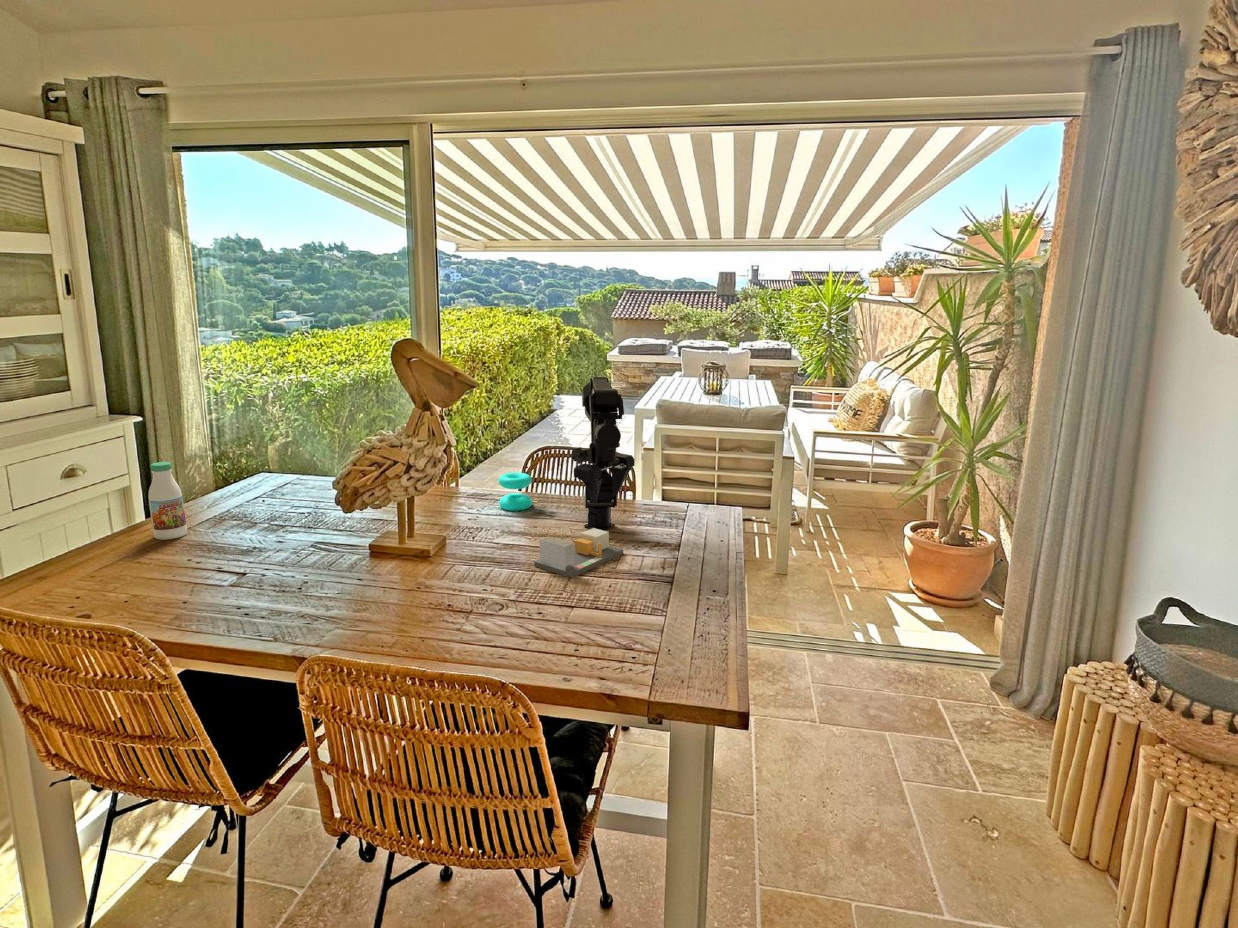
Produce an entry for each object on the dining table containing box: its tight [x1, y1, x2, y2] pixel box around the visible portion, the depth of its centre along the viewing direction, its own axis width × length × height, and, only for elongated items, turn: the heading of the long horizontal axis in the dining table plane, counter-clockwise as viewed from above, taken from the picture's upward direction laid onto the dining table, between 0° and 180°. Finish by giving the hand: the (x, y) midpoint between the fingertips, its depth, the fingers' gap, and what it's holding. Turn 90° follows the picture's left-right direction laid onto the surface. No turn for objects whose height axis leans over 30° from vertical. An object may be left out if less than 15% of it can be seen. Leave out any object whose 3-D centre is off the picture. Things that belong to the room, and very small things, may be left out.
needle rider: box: [574, 537, 602, 557], centre depth 180 cm, size 2×8×4 cm, turn 53°
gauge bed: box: [533, 536, 624, 579], centre depth 180 cm, size 20×12×7 cm, turn 143°
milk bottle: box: [147, 461, 188, 540], centre depth 193 cm, size 8×8×20 cm
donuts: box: [498, 472, 533, 512], centre depth 222 cm, size 10×10×10 cm
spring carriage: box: [580, 528, 610, 552], centre depth 184 cm, size 5×5×4 cm
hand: (604, 498), depth 187 cm, fingers open, 9 cm apart
